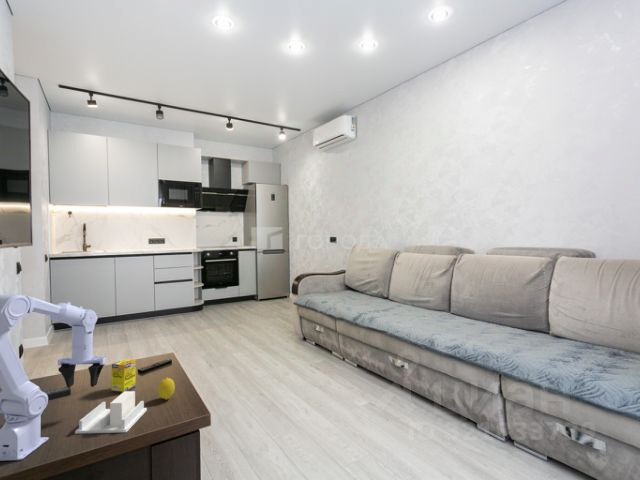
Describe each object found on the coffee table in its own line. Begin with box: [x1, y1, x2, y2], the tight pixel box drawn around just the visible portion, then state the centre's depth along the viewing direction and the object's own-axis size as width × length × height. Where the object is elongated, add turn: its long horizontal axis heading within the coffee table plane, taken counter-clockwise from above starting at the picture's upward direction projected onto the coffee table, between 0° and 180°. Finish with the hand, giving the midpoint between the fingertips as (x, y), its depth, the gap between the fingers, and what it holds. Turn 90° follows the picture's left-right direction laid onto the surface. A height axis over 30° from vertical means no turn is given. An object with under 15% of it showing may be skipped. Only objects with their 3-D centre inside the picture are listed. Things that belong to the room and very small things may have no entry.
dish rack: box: [74, 400, 148, 435], centre depth 105 cm, size 13×15×4 cm
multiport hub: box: [43, 386, 72, 401], centre depth 121 cm, size 4×11×2 cm, turn 130°
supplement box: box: [110, 358, 137, 394], centre depth 128 cm, size 6×6×11 cm
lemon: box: [157, 377, 176, 401], centre depth 120 cm, size 6×6×8 cm
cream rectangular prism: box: [109, 390, 136, 426], centre depth 105 cm, size 4×8×7 cm, turn 3°
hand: (82, 385), depth 110 cm, fingers open, 7 cm apart
